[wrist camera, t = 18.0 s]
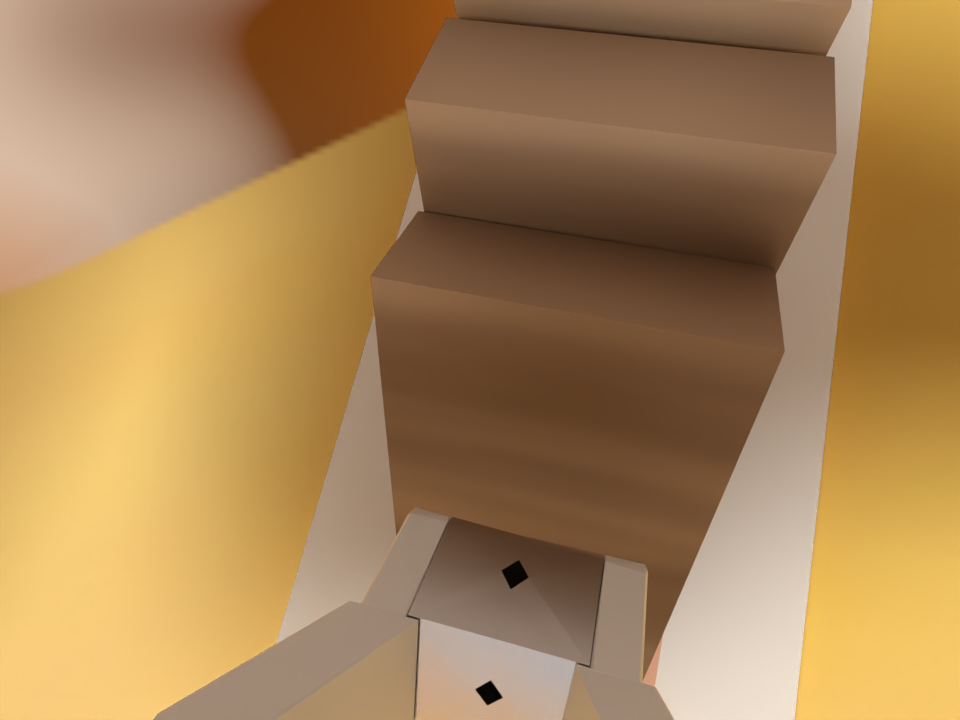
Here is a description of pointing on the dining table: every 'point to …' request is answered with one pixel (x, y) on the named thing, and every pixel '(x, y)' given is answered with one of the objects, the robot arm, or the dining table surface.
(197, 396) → the dining table surface
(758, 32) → the domino
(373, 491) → the board
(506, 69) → the domino
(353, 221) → the dining table surface
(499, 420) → the domino
